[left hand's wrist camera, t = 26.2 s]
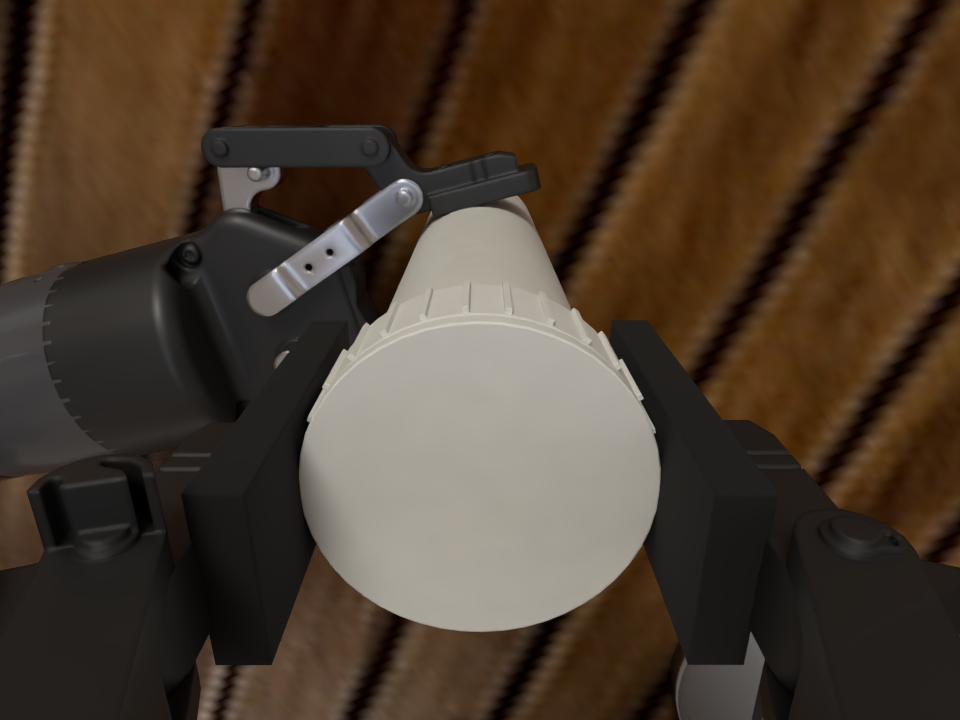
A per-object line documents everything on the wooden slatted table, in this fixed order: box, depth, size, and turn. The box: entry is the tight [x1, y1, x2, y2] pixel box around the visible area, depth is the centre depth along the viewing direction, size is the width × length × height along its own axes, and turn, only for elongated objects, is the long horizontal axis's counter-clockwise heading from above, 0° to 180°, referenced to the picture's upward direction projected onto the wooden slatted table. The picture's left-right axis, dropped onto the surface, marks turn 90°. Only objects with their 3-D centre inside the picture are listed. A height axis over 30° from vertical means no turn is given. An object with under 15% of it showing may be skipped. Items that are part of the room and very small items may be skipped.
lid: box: [299, 281, 661, 632], centre depth 11 cm, size 6×6×2 cm
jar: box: [387, 196, 572, 312], centre depth 20 cm, size 5×5×20 cm
